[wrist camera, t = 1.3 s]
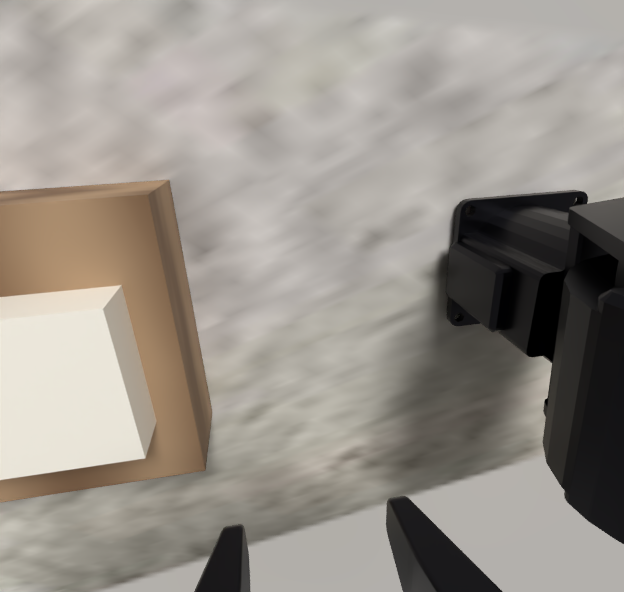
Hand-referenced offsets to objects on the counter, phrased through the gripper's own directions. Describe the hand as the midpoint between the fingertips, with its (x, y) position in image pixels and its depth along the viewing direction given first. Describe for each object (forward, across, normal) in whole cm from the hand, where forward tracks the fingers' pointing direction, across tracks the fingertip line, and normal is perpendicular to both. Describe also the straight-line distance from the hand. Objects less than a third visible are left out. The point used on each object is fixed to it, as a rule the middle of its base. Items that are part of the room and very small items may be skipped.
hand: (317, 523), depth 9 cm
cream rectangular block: (+8, +10, 0) cm, 13 cm away
